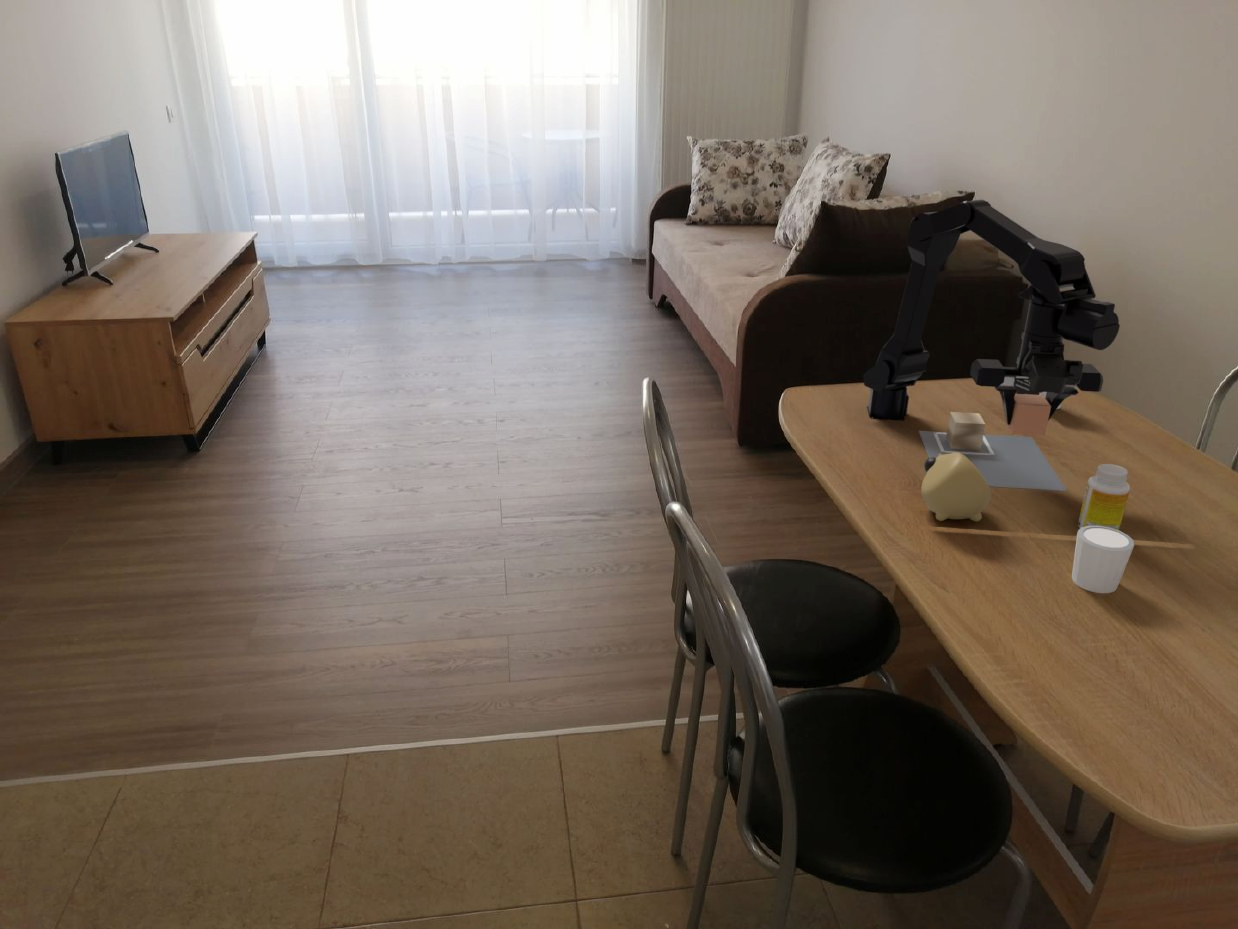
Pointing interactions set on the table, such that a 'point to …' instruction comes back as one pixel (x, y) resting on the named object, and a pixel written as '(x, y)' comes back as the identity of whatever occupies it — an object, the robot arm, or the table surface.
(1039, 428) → the top block
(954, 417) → the base block
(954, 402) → the table surface
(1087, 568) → the white cylinder
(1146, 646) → the table surface
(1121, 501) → the supplement bottle
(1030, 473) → the build mat
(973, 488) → the toy pig
